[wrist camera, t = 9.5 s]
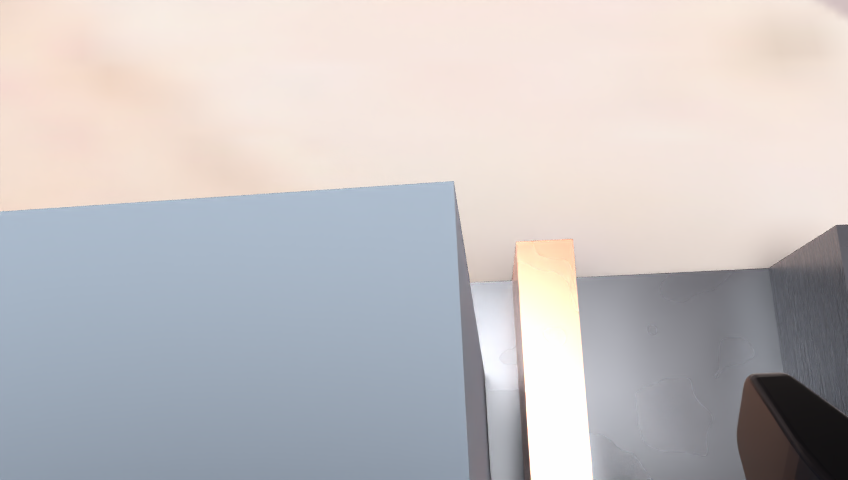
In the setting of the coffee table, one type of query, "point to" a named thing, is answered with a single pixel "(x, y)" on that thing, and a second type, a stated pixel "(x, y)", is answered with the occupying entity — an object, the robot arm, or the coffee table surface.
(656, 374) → the rack
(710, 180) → the coffee table surface
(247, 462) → the blue-gray rectangular block
